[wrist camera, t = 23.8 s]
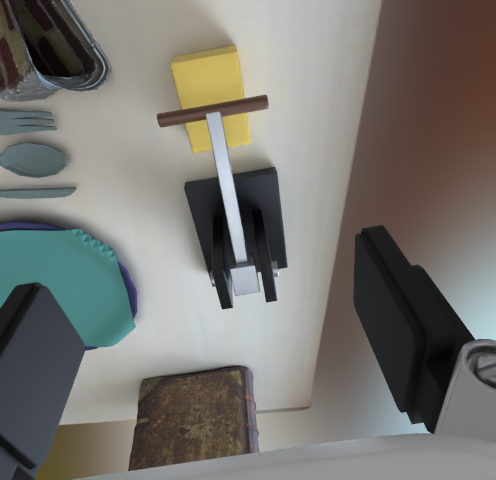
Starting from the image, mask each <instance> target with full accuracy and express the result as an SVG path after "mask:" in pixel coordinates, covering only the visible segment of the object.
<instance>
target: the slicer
mask: <svg viewBox="0 0 496 480" xmlns="http://www.w3.org/2000/svg"><path fill="white" fill-rule="evenodd" d="M233 179H234V184H235V190H236V195H237V201H238V206H239V211H240V217H241V222H242V228H243V233H244V238H245V244H246V249H247V253H251V252H253V253H254V258H255V263H256V269H257V272H261V275H262V281H263V286H264V292H265V298H266V302H272V301H277V295H276V288H275V281H274V277H277V276H279V272H278V269H281V268H287V267H288V266H287V257H286V248H285V239H284V230H283V221H282V213H281V204H280V195H279V186H278V177H277V171H276V168H269V169H263V170H257V171H251V172H245V173H239V174H234V175H233ZM184 189H185V193H186V196H187V199H188V203H189V206H190V210H191V213H192V217H193V220H194V224H195V227H196V231H197V234H198V238H199V241H200V245H201V248H202V252H203V255H204V259H205V262H206V266H207V269H208V273H209V276H210V280H211V283H212V286H213V287H215V286H216V289H217V293H218V296H219V300H220V303H221V307H222V309H228V308H233V297H232V277H231V273H230V256H233V255H234V252H233V247H232V242H231V237H230V232H229V227H228V223H227V218H226V213H225V208H224V203H223V198H222V193H221V188H220V183H219V179H218V177H216V178H210V179H204V180H199V181H193V182H187V183H185V187H184Z"/></svg>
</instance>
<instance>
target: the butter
mask: <svg viewBox="0 0 496 480" xmlns="http://www.w3.org/2000/svg"><path fill="white" fill-rule="evenodd" d="M170 65H171V69H172V73H173V77H174V81H175V85H176V89H177V93H178V97H179V101H180V105H181V108H182V109H188V108H194V107H199V106H205V105H211V104H216V103H222V102H227V101H233V100H239V99H244V98H245V97H244V91H243V84H242V77H241V71H240V64H239V58H238V52H237V48H236V46H235V45H232V46H227V47H221V48H216V49H210V50H205V51H199V52H194V53H188V54H183V55H177V56H174V58H173V60H172V62H171V63H170ZM222 120H223V125H224V130H225V136H226V141H227V147H233V146H239V145H244V144H250V143H251V137H250V130H249V124H248V117H247V113H241V114H235V115H230V116H224V117H222ZM185 124H186V128H187V132H188V136H189V140H190V144H191V148H192V152H193V153H198V152H204V151H210V150H213V149H212V144H211V139H210V134H209V130H208V125H207V120H201V121H196V122H190V123H185Z"/></svg>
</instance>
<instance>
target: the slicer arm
mask: <svg viewBox="0 0 496 480" xmlns="http://www.w3.org/2000/svg"><path fill="white" fill-rule="evenodd" d="M264 109H268V98H267V95H261V96H256V97H250V98H244V99H239V100H233V101H227V102H222V103H216V104H211V105H205V106H199V107H194V108H188V109H182V110H177V111H171V112H165V113H160V114H157V120H158V124H159V126H160V127H167V126H173V125H179V124H184V123H190V122H196V121H201V120H207V125H208V130H209V134H210V139H211V144H212V149H213V154H214V159H215V164H216V169H217V174H218V179H219V183H220V188H221V193H222V198H223V203H224V208H225V213H226V218H227V223H228V227H229V232H230V237H231V242H232V247H233V252H234V255H233V256H230V273H231V277H232V282H233V287H234V291H235V296H238V295H244V294H250V293H257V292H260V289H259V281H258V275H257V269H256V263H255V258H254V253H253V252H251V253H247V249H246V244H245V238H244V233H243V228H242V222H241V217H240V211H239V206H238V201H237V195H236V190H235V184H234V179H233V174H232V168H231V163H230V157H229V152H228V147H227V141H226V136H225V130H224V125H223V120H222V117H224V116H230V115H235V114H241V113H247V112H252V111H258V110H264Z"/></svg>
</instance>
